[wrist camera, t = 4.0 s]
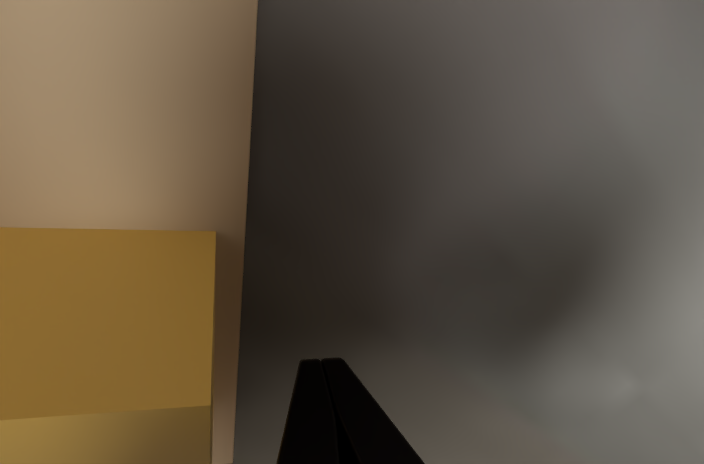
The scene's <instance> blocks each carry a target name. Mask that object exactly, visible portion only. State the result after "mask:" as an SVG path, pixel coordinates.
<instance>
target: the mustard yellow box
mask: <svg viewBox="0 0 704 464" xmlns="http://www.w3.org/2000/svg"><path fill="white" fill-rule="evenodd" d="M215 263H216V231H175V230H120V229H65V228H10V227H0V464H212V452H213V413H214V341H215Z"/></svg>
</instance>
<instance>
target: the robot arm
mask: <svg viewBox="0 0 704 464" xmlns="http://www.w3.org/2000/svg"><path fill="white" fill-rule="evenodd" d="M276 464H425V463H424V462H423V461H422V460H421V458H420V457H419V456H418V454H417V453H416V452H415V451H414V449H413V448H412V447H411V445H410V444H409V443H408V442H407V440H406V439H405V438H404V437H403V435H402V434H401V433H400V431H399V430H398V429H397V428H396V426H395V425H394V424H393V422H392V421H391V420H390V419H389V417H388V416H387V415H386V413H385V412H384V411H383V410H382V408H381V407H380V406H379V404H378V403H377V402H376V401H375V399H374V398H373V397H372V395H371V394H370V393H369V392H368V390H367V389H366V388H365V386H364V385H363V384H362V383H361V381H360V380H359V379H358V378H357V376H356V375H355V374H354V372H353V371H352V370H351V369H350V367H349V366H348V365H347V363H346V362H345V361H344V360H343V359H342V358H324V359H322V360H321V361H320V360H319V359H303V360H301V361H300V363H299V367H298V371H297V375H296V380H295V384H294V389H293V393H292V397H291V402H290V406H289V411H288V415H287V419H286V424H285V428H284V432H283V437H282V441H281V446H280V450H279V454H278V459H277V463H276Z"/></svg>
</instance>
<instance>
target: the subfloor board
mask: <svg viewBox="0 0 704 464" xmlns="http://www.w3.org/2000/svg"><path fill="white" fill-rule="evenodd" d="M257 8H258V0H0V227H10V228H65V229H120V230H175V231H216V263H215V341H214V413H213V452H212V464H228V463H233V448H234V430H235V411H236V393H237V375H238V356H239V338H240V320H241V301H242V283H243V265H244V246H245V228H246V210H247V191H248V173H249V155H250V137H251V118H252V100H253V82H254V63H255V45H256V27H257Z"/></svg>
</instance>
